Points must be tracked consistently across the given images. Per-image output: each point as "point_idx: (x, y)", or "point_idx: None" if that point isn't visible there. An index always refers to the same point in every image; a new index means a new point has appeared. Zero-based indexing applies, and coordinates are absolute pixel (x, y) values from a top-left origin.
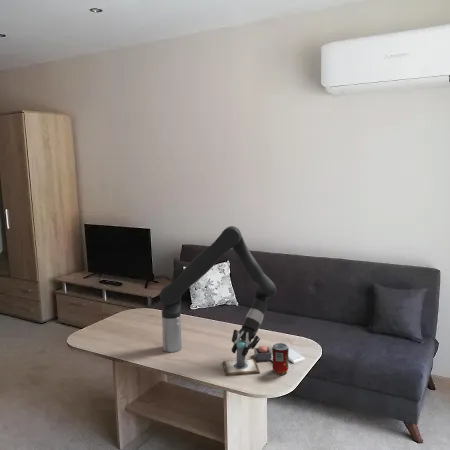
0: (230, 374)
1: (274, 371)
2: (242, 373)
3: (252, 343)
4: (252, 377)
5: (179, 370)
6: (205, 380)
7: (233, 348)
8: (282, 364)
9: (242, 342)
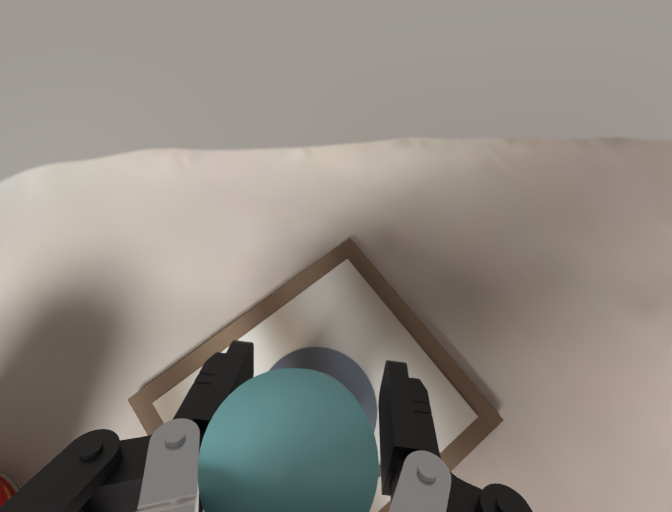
0: (324, 258)
1: (11, 488)
2: (251, 311)
3: (35, 496)
4: (167, 311)
5: (649, 163)
6: (426, 138)
7: (398, 386)
8: None
9: (263, 464)
